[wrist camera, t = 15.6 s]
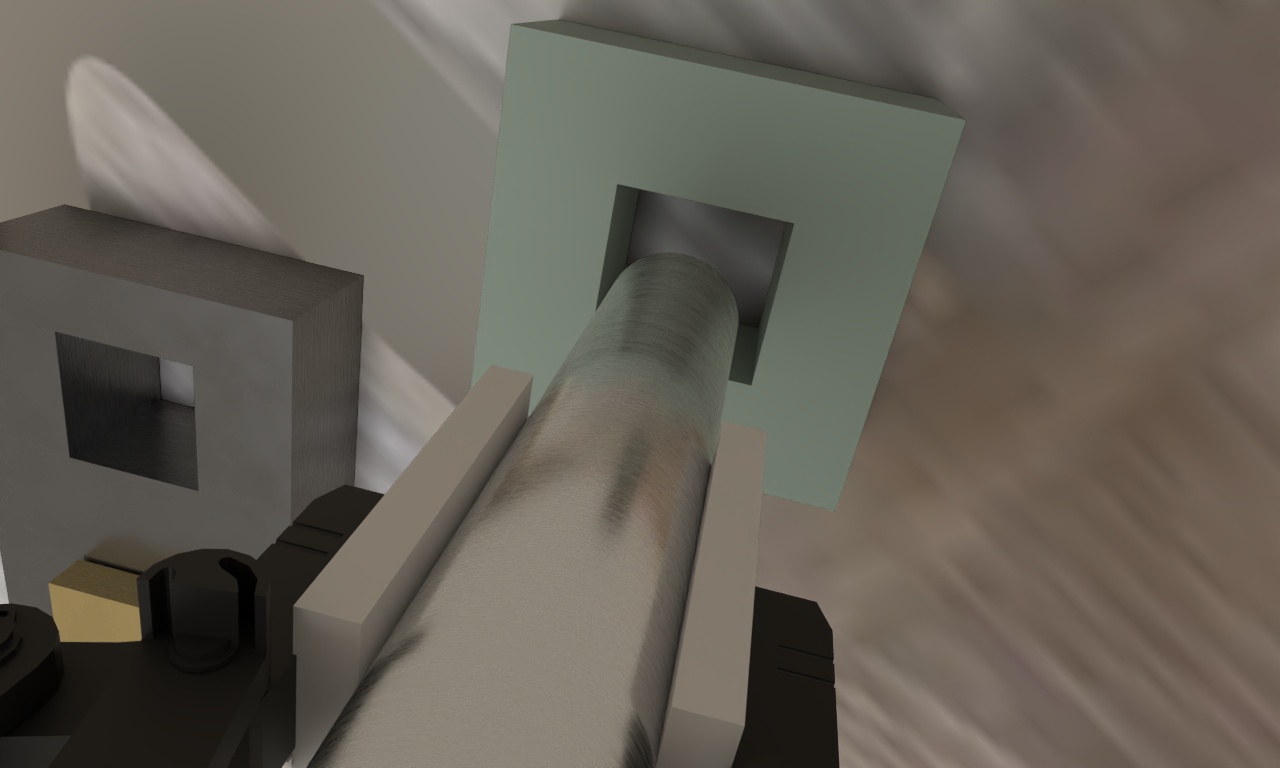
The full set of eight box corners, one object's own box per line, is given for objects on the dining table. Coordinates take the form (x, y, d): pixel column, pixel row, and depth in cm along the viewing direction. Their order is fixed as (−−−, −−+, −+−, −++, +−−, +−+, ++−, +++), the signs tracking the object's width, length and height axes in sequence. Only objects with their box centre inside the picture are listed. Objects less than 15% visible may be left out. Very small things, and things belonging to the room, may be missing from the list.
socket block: (344, 677, 41) (288, 762, 36) (107, 612, 42) (23, 687, 37) (363, 275, 32) (292, 320, 28) (64, 204, 33) (-52, 237, 28)
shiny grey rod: (722, 392, 23) (587, 1090, 8) (595, 362, 23) (253, 988, 9) (752, 269, 21) (654, 857, 7) (617, 239, 21) (248, 744, 7)
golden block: (269, 597, 39) (180, 698, 33) (165, 569, 39) (59, 664, 34) (269, 524, 37) (175, 617, 32) (160, 495, 37) (48, 582, 32)
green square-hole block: (829, 437, 32) (835, 511, 27) (513, 361, 32) (467, 420, 28) (937, 99, 26) (966, 120, 22) (558, 19, 27) (511, 24, 23)
